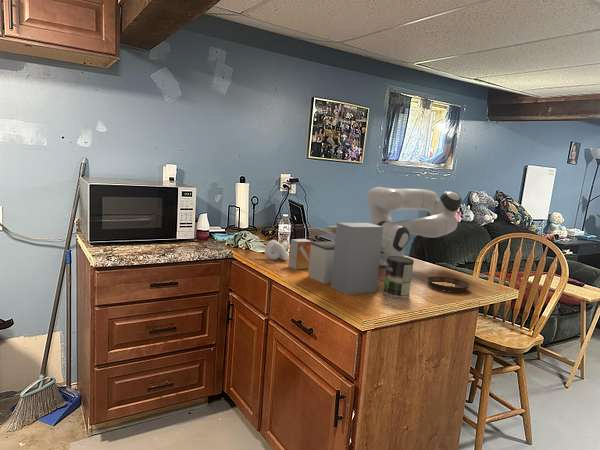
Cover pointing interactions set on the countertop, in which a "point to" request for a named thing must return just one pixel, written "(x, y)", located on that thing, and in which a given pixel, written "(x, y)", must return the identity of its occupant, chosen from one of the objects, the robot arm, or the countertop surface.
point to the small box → (299, 253)
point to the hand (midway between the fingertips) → (357, 228)
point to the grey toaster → (321, 261)
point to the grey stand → (356, 257)
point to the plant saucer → (459, 284)
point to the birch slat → (331, 230)
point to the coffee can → (398, 276)
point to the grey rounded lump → (276, 250)
